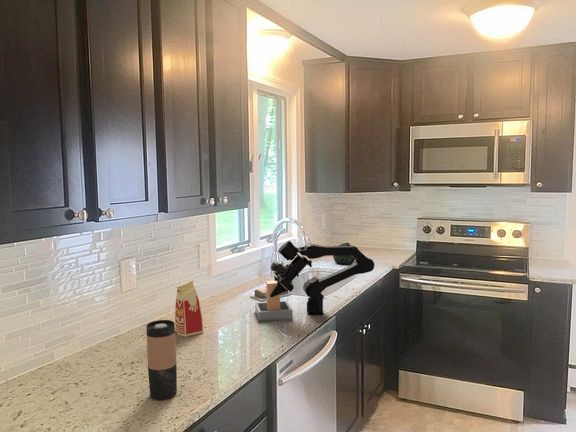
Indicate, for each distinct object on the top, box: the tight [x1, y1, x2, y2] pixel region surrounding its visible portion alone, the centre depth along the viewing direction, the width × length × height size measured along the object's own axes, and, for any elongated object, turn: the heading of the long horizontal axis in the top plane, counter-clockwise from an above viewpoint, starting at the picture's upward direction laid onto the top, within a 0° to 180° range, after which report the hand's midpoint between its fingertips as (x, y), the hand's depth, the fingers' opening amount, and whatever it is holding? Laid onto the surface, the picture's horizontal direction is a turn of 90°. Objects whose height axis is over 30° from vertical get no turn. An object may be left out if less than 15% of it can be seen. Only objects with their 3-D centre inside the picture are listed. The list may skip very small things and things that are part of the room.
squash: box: [332, 242, 356, 266], centre depth 307 cm, size 14×15×15 cm
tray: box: [254, 300, 294, 323], centre depth 200 cm, size 14×14×4 cm
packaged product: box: [249, 286, 292, 302], centre depth 231 cm, size 18×5×10 cm
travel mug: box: [145, 319, 178, 401], centre depth 129 cm, size 8×8×20 cm
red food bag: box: [174, 279, 205, 337], centre depth 180 cm, size 9×9×20 cm
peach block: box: [265, 280, 281, 311], centre depth 199 cm, size 5×5×12 cm
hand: (269, 294), depth 199 cm, fingers closed on peach block, 5 cm apart
